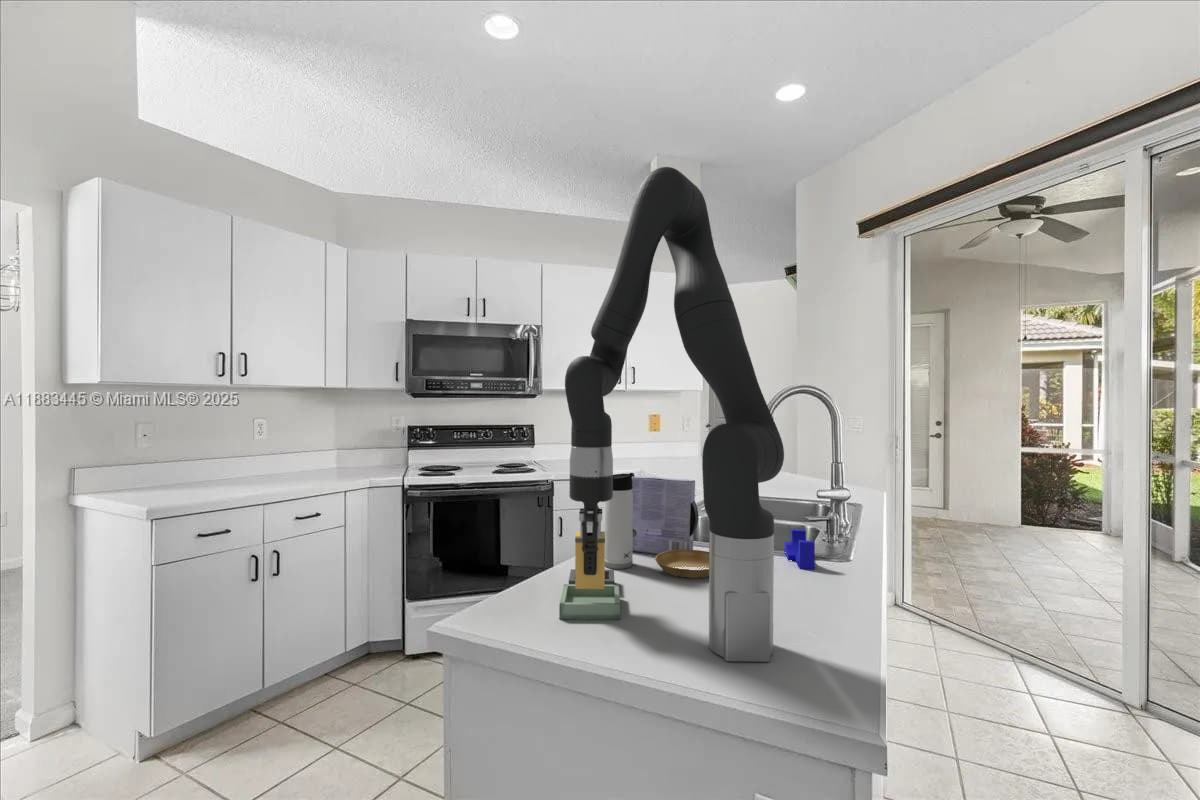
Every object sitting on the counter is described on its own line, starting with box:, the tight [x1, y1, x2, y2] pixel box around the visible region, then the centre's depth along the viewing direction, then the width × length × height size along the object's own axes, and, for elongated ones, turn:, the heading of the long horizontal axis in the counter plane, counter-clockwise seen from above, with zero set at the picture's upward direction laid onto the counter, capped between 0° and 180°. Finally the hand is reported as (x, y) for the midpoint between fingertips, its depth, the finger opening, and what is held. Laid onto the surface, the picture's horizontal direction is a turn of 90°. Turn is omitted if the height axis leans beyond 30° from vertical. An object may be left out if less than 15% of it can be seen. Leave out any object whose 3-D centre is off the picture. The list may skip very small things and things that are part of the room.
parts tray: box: [558, 583, 621, 621], centre depth 102 cm, size 10×10×2 cm
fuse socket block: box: [568, 569, 615, 585], centre depth 112 cm, size 7×8×2 cm
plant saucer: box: [654, 549, 709, 579], centre depth 124 cm, size 15×15×3 cm
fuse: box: [574, 530, 606, 589], centre depth 102 cm, size 4×5×9 cm
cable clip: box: [783, 528, 816, 571], centre depth 131 cm, size 12×4×6 cm, turn 171°
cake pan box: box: [632, 474, 699, 555], centre depth 138 cm, size 19×5×18 cm, turn 70°
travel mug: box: [603, 472, 635, 570], centre depth 127 cm, size 6×7×20 cm
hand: (590, 570), depth 102 cm, fingers closed on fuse, 3 cm apart
